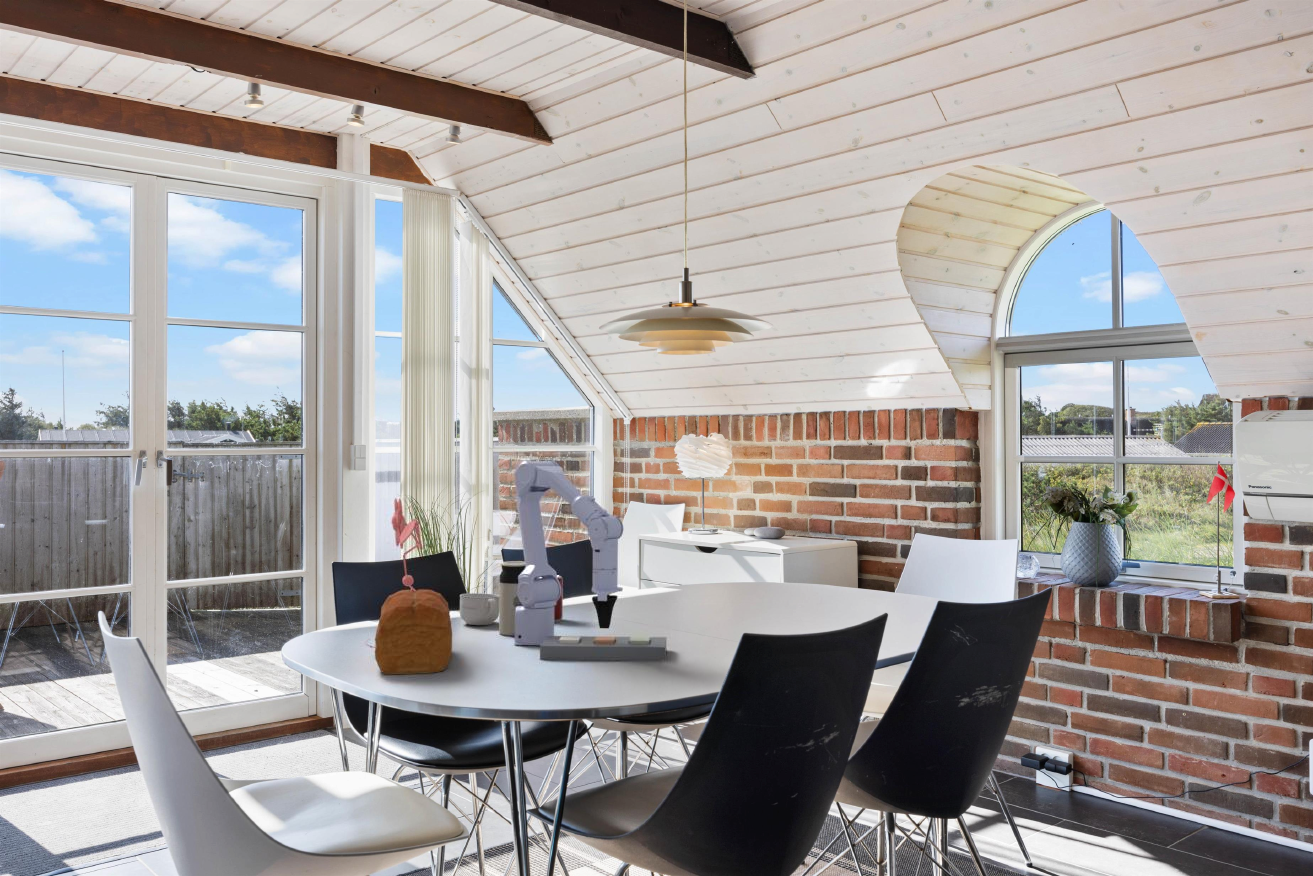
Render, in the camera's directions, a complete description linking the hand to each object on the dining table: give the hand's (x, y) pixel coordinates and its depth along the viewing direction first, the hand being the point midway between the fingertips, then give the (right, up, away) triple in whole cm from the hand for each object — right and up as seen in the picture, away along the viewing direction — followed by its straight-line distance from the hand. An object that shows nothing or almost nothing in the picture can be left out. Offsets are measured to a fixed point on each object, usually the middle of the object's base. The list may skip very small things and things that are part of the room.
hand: (604, 627), depth 230 cm
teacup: (-35, -7, +38) cm, 52 cm away
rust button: (0, -6, 0) cm, 6 cm away
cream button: (-8, -6, 0) cm, 10 cm away
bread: (-42, -6, -8) cm, 43 cm away
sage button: (+8, -6, 0) cm, 10 cm away
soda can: (-17, -7, +45) cm, 49 cm away
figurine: (-51, -6, +15) cm, 54 cm away
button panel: (0, -6, 0) cm, 6 cm away
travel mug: (-24, -7, +26) cm, 36 cm away
